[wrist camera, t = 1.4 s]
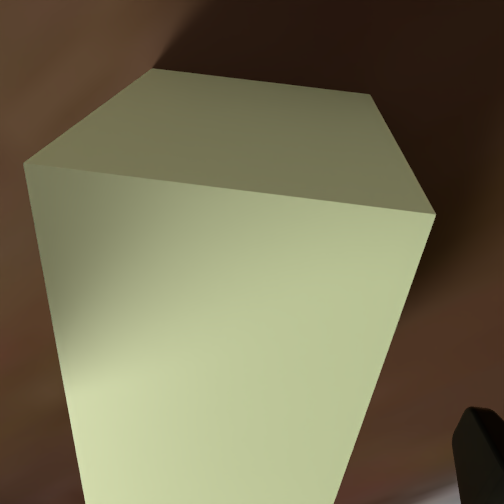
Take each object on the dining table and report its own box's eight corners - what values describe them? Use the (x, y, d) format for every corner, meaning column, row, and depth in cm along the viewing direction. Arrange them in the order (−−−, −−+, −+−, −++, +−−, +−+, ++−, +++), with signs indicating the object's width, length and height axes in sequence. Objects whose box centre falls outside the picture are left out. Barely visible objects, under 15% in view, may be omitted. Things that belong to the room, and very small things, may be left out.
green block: (368, 93, 11) (435, 215, 5) (306, 368, 15) (310, 567, 10) (153, 67, 11) (23, 163, 6) (158, 348, 15) (91, 536, 10)
